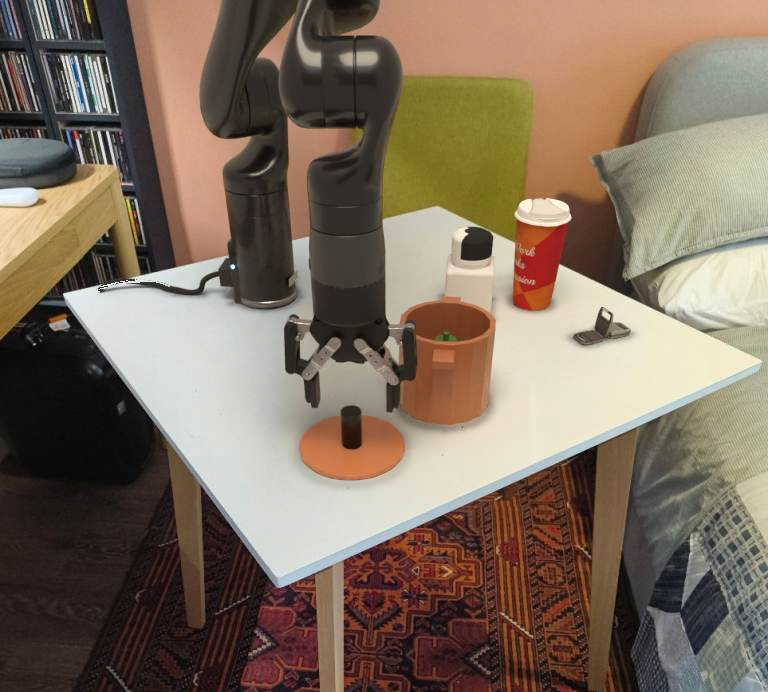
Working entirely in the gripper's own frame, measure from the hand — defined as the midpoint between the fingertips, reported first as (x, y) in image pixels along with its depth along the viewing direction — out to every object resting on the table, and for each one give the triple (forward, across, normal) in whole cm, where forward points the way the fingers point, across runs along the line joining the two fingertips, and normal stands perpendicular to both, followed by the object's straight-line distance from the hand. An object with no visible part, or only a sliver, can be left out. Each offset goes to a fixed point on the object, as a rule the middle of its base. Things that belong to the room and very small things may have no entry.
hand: (352, 406), depth 87 cm
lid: (+6, 0, 0) cm, 6 cm away
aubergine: (+6, -10, -12) cm, 17 cm away
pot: (+6, -10, -12) cm, 17 cm away
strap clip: (+7, -32, -33) cm, 46 cm away
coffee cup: (+6, -22, -43) cm, 49 cm away
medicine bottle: (+6, -12, -40) cm, 42 cm away
